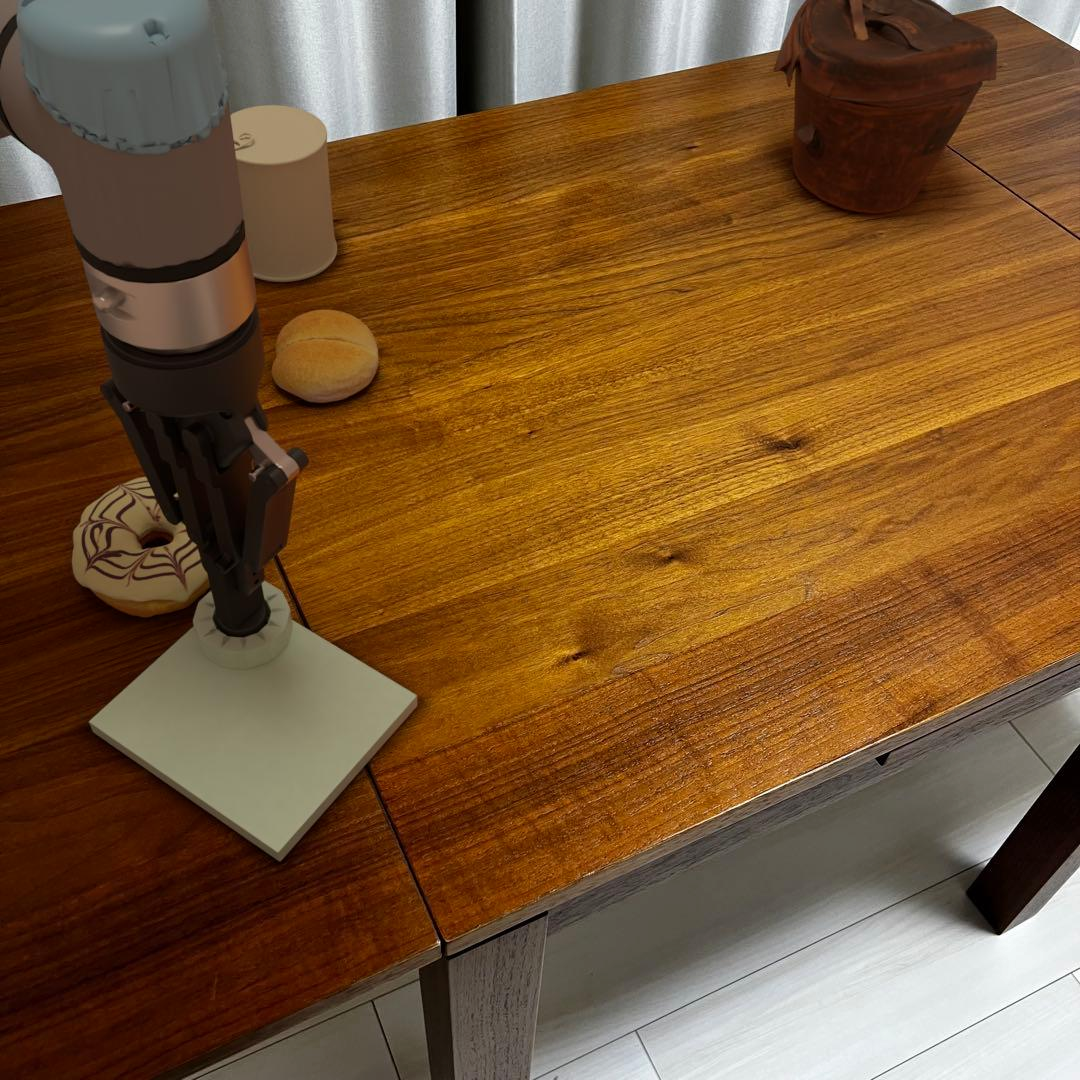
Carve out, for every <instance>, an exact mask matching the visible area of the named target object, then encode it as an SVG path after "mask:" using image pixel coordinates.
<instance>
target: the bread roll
mask: <svg viewBox="0 0 1080 1080" xmlns="http://www.w3.org/2000/svg"><path fill="white" fill-rule="evenodd" d="M275 354H276V357H275V359H274V360H273V362H272V365H271V376H272V379H273V381H274V383H275V384H276V385H277V386H278V388H280V389H282V390H284V391H286V392H288V393H290V394H291V395H294V396H296V397H298V398H300V399H302V400H304V401H306V402H309V403H319V404H324V403H331V402H338V401H341V400H345V399H347V398H349V397H351V396H353V395H355V394H356V393H358V392H361V391H362V390H363V389H365V388H366V387H368V386H369V385H370V383H371V382H372V381H373V379H374V378H375V375H376V373H377V371H378V368H379V362H380V361H379V348H378V344H377V340H376V339H375V335H374V334H373V333H372V331H371V329H370V328H369V327H368V326H367V325H366V324H365V323H364V322H363V321H361V320H360V319H359V318H357V317H356V316H353V315H352V314H349V313H347V312H345V311H340V310H335V309H316V310H315V309H314V310H310V311H308V312H304V313H302V314H300V315H298V316H296V317H294V318H293V319H291V320H290V321H289V322H288V323H286V324H285V325H283V327H282V328H281V330H280V331H279V333H278V335H277V339H276V342H275Z"/></svg>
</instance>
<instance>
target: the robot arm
mask: <svg viewBox="0 0 1080 1080" xmlns="http://www.w3.org/2000/svg"><path fill="white" fill-rule="evenodd" d="M212 17H213V16H212V12H211V9H210V6H209V4H208V1H207V0H0V140H1V139H4V138H7V137H12V138H14V139H15V140H16V141H17V142H19V143H20V144H21V145H23V146H24V147H25V148H27V150H29V151H31V152H32V153H33V154H35V155H36V156H38V157H40V158H41V159H42V160H43V161H45V162H46V163H47V164H48V166H50V168H51V169H52V171H53V174H54V175H55V177H56V179H57V183H58V186H59V190H60V192H61V195H62V196H61V197H62V199H63V203H64V206H65V209H66V212H67V217H68V219H69V223H70V226H71V229H72V233H73V234H72V235H73V239H74V242H75V246H76V248H77V250H78V252H79V254H80V256H81V261H82V265H83V269H84V273H85V276H86V281H87V284H88V287H89V293H90V295H91V299H92V305H93V307H94V310H95V315H96V318H97V320H98V321H99V323H100V324H99V325H100V327H99V331H100V336H101V341H102V344H103V348H104V352H105V355H106V358H107V362H108V366H109V370H110V373H111V376H110V377H109V378H108V379H107V380H105V381H103V382H102V383H100V385H99V390H100V392H101V394H102V395H103V397H104V399H105V400H106V402H107V403H108V405H109V406H110V408H111V409H112V411H113V412H114V413H115V415H116V416H117V418H118V419H119V421H120V422H121V425H122V427H123V430H124V432H125V434H126V436H127V438H128V440H129V442H130V445H131V447H132V450H133V451H134V454H135V456H136V458H137V460H138V463H139V464H140V467H141V469H142V471H143V473H144V477H146V478H147V480H148V482H149V484H150V487H151V489H152V491H153V493H154V495H155V498H156V500H157V502H158V504H159V506H160V509H161V511H162V513H163V515H164V517H165V518H166V519H167V521H168V522H169V523H171V524H173V525H178V524H179V523H180V522H182V523H183V524H184V525H185V527H186V531H187V534H188V537H189V538H190V539H191V541H192V542H193V543H195V544H196V545H197V547H198V551H199V555H200V558H201V563H202V566H203V568H204V570H205V571H206V572H207V575H208V579H209V583H210V588H209V589H210V591H211V592H212V596H213V600H214V604H215V609H216V613H217V617H218V619H219V620H221V621H222V622H224V623H225V624H227V625H229V626H230V627H232V628H233V629H235V630H236V629H237V628H238V627H239V626H240V625H241V624H243V623H244V622H245V621H246V620H247V619H248V618H249V617H250V616H251V615H252V614H253V613H254V612H255V611H256V610H257V609H259V608H260V607H261V606H262V605H263V604H264V603H265V599H264V594H263V588H262V583H263V582H264V581H266V575H265V569H264V567H265V566H266V565H267V564H268V563H269V562H271V561H272V560H273V559H274V558H275V557H276V556H277V555H278V554H279V553H280V552H281V551H282V550H284V549H285V548H286V547H287V545H288V540H289V533H290V527H291V526H290V525H291V519H292V512H293V506H294V499H295V493H296V486H297V480H298V476H299V475H300V474H301V473H302V472H303V471H304V470H305V469H306V468H307V467H308V466H309V464H310V458H309V456H308V454H307V453H306V452H305V451H304V450H303V449H302V448H300V447H298V446H293V447H291V448H290V449H289V450H288V451H286V450H285V449H284V448H282V447H281V446H280V445H279V444H278V443H277V442H276V441H275V439H274V438H272V436H271V435H270V434H269V433H268V431H269V427H270V425H269V418H268V416H267V414H266V412H265V410H264V408H263V406H262V404H261V402H260V400H259V395H258V394H259V389H260V385H261V382H262V379H263V375H264V371H265V365H266V354H265V347H264V341H263V340H264V339H263V333H262V326H261V319H260V314H259V309H258V308H259V307H258V305H257V288H256V281H255V277H254V275H253V269H252V263H251V257H250V251H249V245H248V239H247V233H246V227H245V221H244V220H243V207H242V199H241V192H240V184H239V177H238V169H237V161H236V154H235V146H234V139H233V131H232V124H231V116H230V115H231V110H230V102H229V99H230V98H229V93H230V87H229V83H228V74H227V70H225V69H224V60H223V57H222V55H221V54H220V51H219V48H218V43H217V38H216V34H215V28H214V23H213V18H212ZM176 493H177V494H178V498H177V499H175V497H174V495H175V494H176Z"/></svg>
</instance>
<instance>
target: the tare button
mask: <svg viewBox="0 0 1080 1080" xmlns="http://www.w3.org/2000/svg"><path fill="white" fill-rule="evenodd" d="M217 618H218V617H217ZM218 623H219V627H220V631H221V632H222V633H223V634H225V635H227V636H229V637H241V638H244V637H247V636H250V635H253V634H256V633H258V632H259V631H260V630H261V629H262V628H263V627H264V626H265V625H267V624H268V621H267V615H266V610H265V606H264V604H263V605H262V606H261V607H260V608H259V609H257V610H256V611H255V612H254V613H253V614H252V615H251V616H250V617H249V618H248V619H247V620H246V621H245V622H244V623H243V624H241V625H240V626H239V627H238V628H237V629H236V630H235V629H233V628H232V627H230V626H229V625H227V624H225V623H224V622H222V621H221V620H219V619H218Z"/></svg>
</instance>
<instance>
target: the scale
mask: <svg viewBox="0 0 1080 1080" xmlns="http://www.w3.org/2000/svg"><path fill="white" fill-rule="evenodd" d="M262 588H263V594H264V599H265V603H264V606H265V610H266V615H267V621H268V624H267V625H265V626H264V627H263V628H262V629H261V630H260V631H259V632H258V633H256V634H253V635H250V636H247V637H244V638H241V637H229V636H227V635H225V634H223V633H222V632H221V631H220V627H219V623H218V618H217V613H216V609H215V604H214V600H213V596H212V592H211V590H210V591H209V592H208V593H207V594H205V595H204V596H203V597H202V598H201V599H199V601H198V602H197V606H196V609H195V612H194V615H193V618H192V625H193V626H192V627H191V628H190V629H188V631H187V632H186V633H184V634H183V635H182V636H181V637H179V639H178V640H176V642H174V643H173V644H172V645H171V646H170V647H168V649H167V650H165V652H164V653H162V654H161V655H160V656H159V657H158V658H157V659H155V661H154V662H153V663H151V664H150V665H149V666H147V668H146V669H145V670H144V671H143V672H141V673H140V674H139V675H138V676H137V677H135V679H134V680H133V681H132V682H130V683H129V684H128V685H127V686H126V687H125V688H124V689H123V690H122V691H121V692H119V693H118V694H117V695H116V696H115V697H114V698H113V699H111V701H109V702H108V703H107V704H106V705H105V706H103V708H102V709H101V710H100V711H98V712H97V713H96V714H95V715H94V716H93V717H92V718H91V719H90V720H89V721H88V724H89V726H90V728H91V731H92V733H94V735H96V736H98V737H99V738H101V739H102V740H104V741H105V742H107V743H108V744H109V745H110V746H112V747H114V748H115V749H116V750H118V751H120V752H121V753H122V754H124V755H125V756H126V757H128V758H130V759H131V761H134V762H135V763H137V764H138V765H139V766H141V767H142V768H144V769H145V770H147V771H148V772H149V773H151V774H153V775H154V776H155V777H157V778H159V779H160V780H161V781H163V782H164V783H165V784H167V785H169V787H171V788H173V789H174V790H175V791H176V792H178V793H179V794H181V795H182V796H184V797H186V798H187V799H189V800H190V801H191V802H193V803H194V804H196V805H197V806H198V807H200V808H202V809H203V810H204V811H206V812H207V813H208V814H210V815H211V816H213V817H215V818H216V819H217V820H219V821H221V823H223V824H224V825H226V826H227V827H229V828H230V829H232V830H233V831H234V832H236V833H237V834H239V835H241V836H242V837H243V838H244V839H246V840H247V841H248V842H250V843H252V844H253V845H255V846H256V847H257V848H259V849H261V850H262V851H263V852H265V853H266V854H268V855H269V856H271V857H272V858H273V859H275V860H276V861H277V862H280V863H281V862H282V861H283V860H284V859H285V857H286V856H287V855H288V854H289V853H290V851H291V850H293V848H294V847H295V846H296V845H297V843H298V842H299V841H300V840H301V839H302V838H303V836H305V835H306V833H307V832H308V831H309V830H310V829H311V827H312V826H313V825H314V824H315V823H316V822H317V821H318V820H319V819H320V818H321V816H323V814H324V813H325V812H326V810H327V809H328V808H329V807H330V806H331V805H332V804H333V803H334V802H335V800H337V798H338V797H339V796H340V795H341V794H342V792H343V791H344V790H345V789H346V788H347V787H348V785H349V784H351V782H352V781H353V780H354V779H355V778H356V776H357V775H359V773H360V772H361V771H362V770H363V769H364V767H365V766H366V765H367V764H368V763H369V762H370V761H371V759H372V758H373V757H374V756H375V755H376V754H377V753H378V751H379V750H380V749H381V748H382V747H383V746H384V745H385V744H386V742H387V741H388V740H389V739H390V738H391V737H392V735H393V734H394V733H395V732H396V731H397V730H398V729H399V728H400V726H402V725H403V723H404V722H405V721H406V720H407V719H408V717H409V716H410V715H411V714H412V713H413V711H415V709H416V708H417V707H418V695H417V694H416V693H414V692H412V691H410V690H409V689H407V688H406V687H404V686H403V685H401V684H399V683H397V681H395V680H393V679H391V678H389V677H388V676H386V675H385V674H383V673H381V672H380V671H378V670H376V669H375V668H373V667H371V666H369V665H368V664H366V663H365V662H363V661H361V660H359V659H357V658H356V657H355V656H353V655H351V654H350V653H348V652H346V651H344V650H343V649H341V648H339V647H338V646H336V645H335V644H333V643H331V642H330V641H328V640H326V639H325V638H323V637H321V635H318V634H316V633H315V632H313V631H311V630H310V629H308V628H306V627H305V626H303V625H302V624H300V623H298V622H297V621H296V620H293V618H292V617H293V616H292V611H291V610H292V609H291V607H290V605H289V603H288V601H287V598H286V596H285V594H284V592H283V591H282V590H281V589H279V588H278V587H276V586H274V585H272V584H271V583H269V582H268V581H266V580H264V582H263V583H262Z"/></svg>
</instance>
